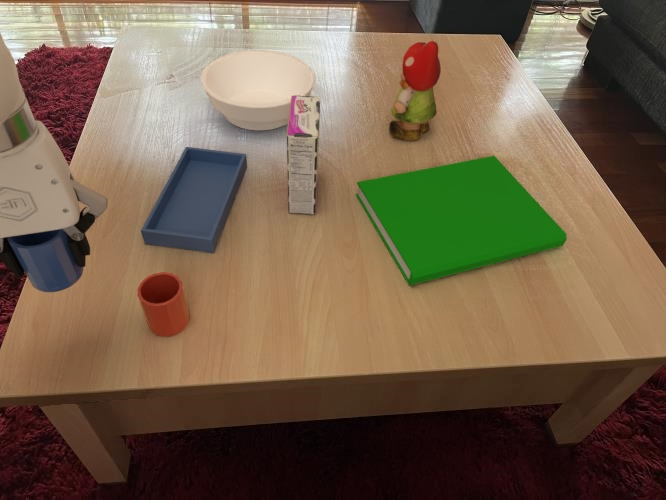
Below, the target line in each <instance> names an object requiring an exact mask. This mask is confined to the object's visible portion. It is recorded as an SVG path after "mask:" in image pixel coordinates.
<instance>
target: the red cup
mask: <svg viewBox="0 0 666 500" xmlns="http://www.w3.org/2000/svg"><path fill="white" fill-rule="evenodd" d="M136 291H137V298H138V301H139V304H140V306H141V309H142V312H143V315H144V318H145V322H146V324H147V327H148V328H149V330H150V332H152V334H154V335H156V336H159V337H165V338H168V337H172V336H176V335H179V334H181V332H183V331H184V330H185V329H186V328H187V326H188V324H189V322H190V311H189V307H188V302H187V298H186V294H185V290H184V286H183V282H182V280H181V279H180V278H179V276H177V275H176V274H174V273H173V272H167V271H166V272H165V271H161V272H155V273H152V274H150V275H148V276H146V277H145V278H144V279H143V280H141V282H140V283H139V285H138V287H137V290H136Z"/></svg>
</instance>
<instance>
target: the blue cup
mask: <svg viewBox="0 0 666 500" xmlns="http://www.w3.org/2000/svg"><path fill="white" fill-rule="evenodd" d="M7 239H8V241H9V243H10V245H11V247H12V249H13V251H14V252H15V254H16V256H17V258H18V260H19V262H20V264H21V265H22V267H23V269H24V274H25V275H26V277H27V278H28V281H29V282H30V284H31V285H32V287H33V288H34V289H35V290H37V291H39V292H43V293H57V292H61V291H65V290H67V289H68V288H70V287H72V286H74V285H75V284H76V283H78V281H79V280H80V279H81V277H82V276H83V273H84V267H80V266H79V267H78V266H77V263H76V261H75V259H74V256H73V254H72V252H71V249H70V247H69V244H68V240H69V235H68V234H67V233H66V232H65V231H63V230H62V229H58V230H52V231H45V232H38V233H32V234H25V235H18V236H11V237H7Z"/></svg>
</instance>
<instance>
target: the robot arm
mask: <svg viewBox="0 0 666 500" xmlns="http://www.w3.org/2000/svg"><path fill="white" fill-rule="evenodd" d="M74 176H75V175H74V174H73V171H72V170H71V167H70V165H69V163H68V162H67V160H66V158H65V156H64V154H63V152H62V150H61V148H60V147H59V145H58V143H57V141H56V140H55V138H54V136H53V135H52V134H51V132H50V130H49V129H48V128H47V126H45V124H44V123H43V122H42V121H40V120H35V117H34V114H33V111H32V109H31V106H30V104H29V102H28V99H27V96H26V93H25V91H24V88H23V86H22V83H21V81H20V78H19V71H18V68H17V65H16V61H15V59H14V56H13V55H12V53H11V51H10V49H9V48H8V46H7V44H6V43H5V41H4V38H3V36H2V34H1V32H0V259H1V262H2V264H3V265H4V266H5V268H6V269H10V270H11V272H12V274H13V275H14V277H15V279H20V278H22V277H24V276H25V271H24V269H23V267H22V265H21V264H20V262H19V260H18V258H17V256H16V254H15V252H14V251H13V249H12V247H11V245H10V243H9V241H8V239H7V237H11V236H18V235H25V234H32V233H38V232H45V231H52V230H58V229H62V230H63V231H65V232H66V233H67V234H68V235H69V240H68V244H69V247H70V249H71V252H72V254H73V256H74V259H75V261H76V263H77V266H78V267H79V266H80V267H83V268H85V267H86V261H87V260H86V258H87V256H90V255H91V246H90V243H89V240H88V238H87V235H86V232H87V231H88V230H90V228H91V227H92V226H93V225H94V224H95V222H96V220H97V218H99V217H101V215H102V214H104V212H105V211H106V210H107V209H108V198H107V196H105V195H103V194H101V193H99V192H97V191H95V190H93V189H92V188H89V187H88V186H86V185H84V184H82V183H80V182H78V181H76V178H75V177H74ZM79 202H80V203H81V204H83V205H86V206H85V207H83V208H82V209H81V208H80V204H79ZM80 209H81V210H80Z"/></svg>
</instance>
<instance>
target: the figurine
mask: <svg viewBox="0 0 666 500" xmlns="http://www.w3.org/2000/svg"><path fill="white" fill-rule="evenodd" d="M402 59H403V60H402V64H401V65H402V66H401V67H402V68H401V70H402V72H401V74H400V81H399V82H398V83H399V86H400V88H399V89H398V92H397V95H396V98H395V101H394V102H393V105H392V106H391V108H390V112H391V114H392V116H393V117H394V118H395V120H390V121H389V124H388V130H389V133H390V135H391V136H392V137H394V138H396V139H400V140H404V141H417V140H419V139H420V138H421V135H422V134H426V133H427V132H428V131H429V130H430V121H432V119H434V118H435V117H436V115H437V104H436V99H435V92H434V87H435V86H436V85H437V84H438V81H439V79H440V76H441V71H442V70H441V68H442V67H441V61H440V57H439V45H438V43H437V42H436V41H434V40H431V41H428V42H424V41H423V42H422V41H419V42H415V43H413V44H412V45H410V46H409V48H408V49H407V50H406V51H405V53H404V55H403V58H402ZM396 119H397V120H396Z"/></svg>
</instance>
